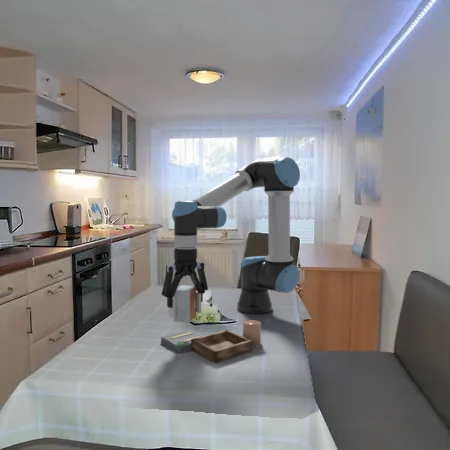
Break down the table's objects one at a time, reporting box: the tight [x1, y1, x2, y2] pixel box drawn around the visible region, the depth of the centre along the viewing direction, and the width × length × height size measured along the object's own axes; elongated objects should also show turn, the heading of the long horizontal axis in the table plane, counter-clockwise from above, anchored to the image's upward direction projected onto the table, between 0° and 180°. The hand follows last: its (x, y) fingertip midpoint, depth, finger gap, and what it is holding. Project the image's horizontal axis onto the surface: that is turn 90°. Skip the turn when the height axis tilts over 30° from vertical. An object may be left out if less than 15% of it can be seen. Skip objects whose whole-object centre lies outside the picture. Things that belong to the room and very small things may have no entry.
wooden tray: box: [191, 329, 254, 364], centre depth 131 cm, size 15×13×4 cm
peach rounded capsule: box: [242, 319, 262, 347], centre depth 138 cm, size 6×6×7 cm
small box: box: [173, 284, 197, 323], centre depth 136 cm, size 8×6×10 cm
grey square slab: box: [160, 329, 204, 354], centre depth 137 cm, size 12×12×3 cm
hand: (185, 314), depth 136 cm, fingers closed on small box, 9 cm apart
